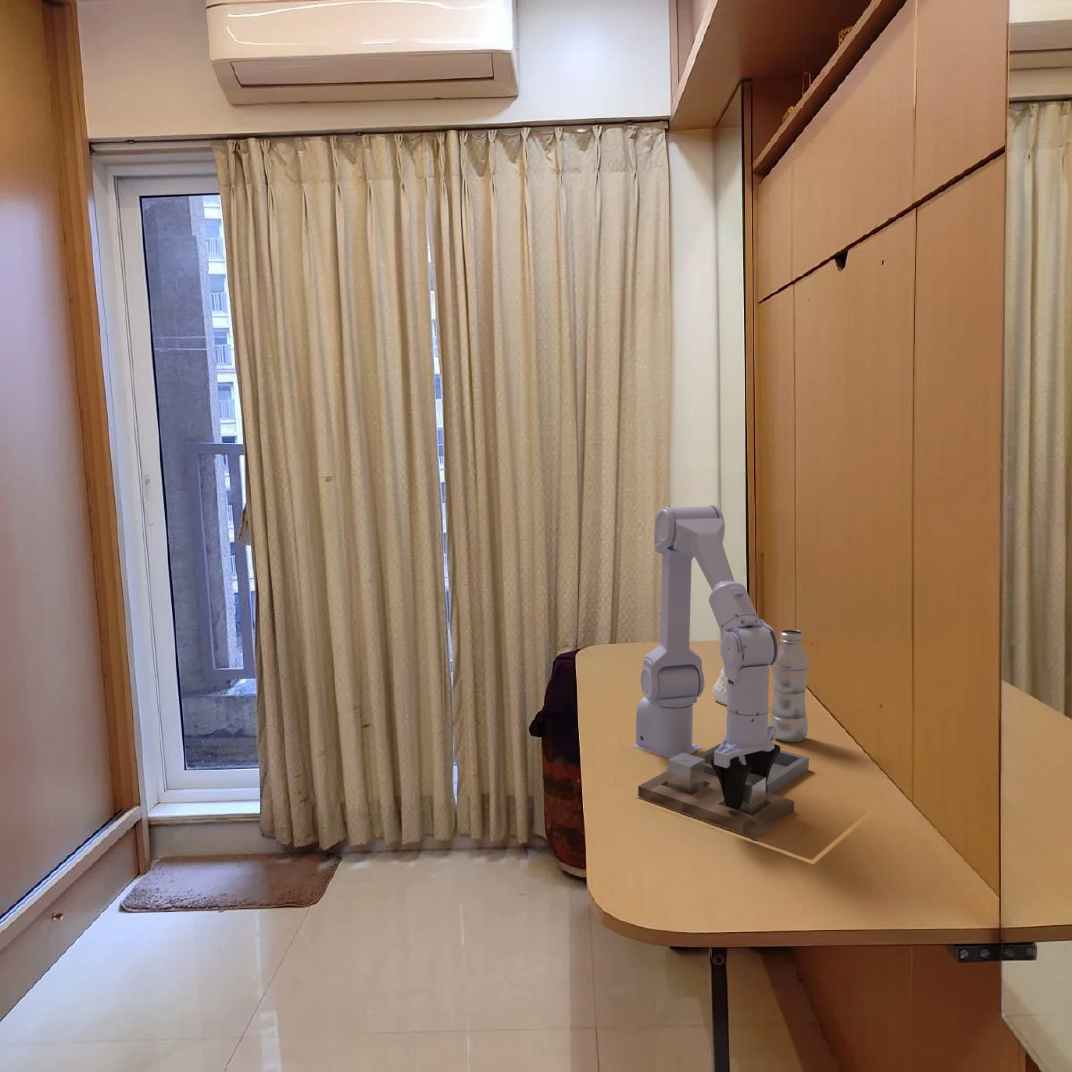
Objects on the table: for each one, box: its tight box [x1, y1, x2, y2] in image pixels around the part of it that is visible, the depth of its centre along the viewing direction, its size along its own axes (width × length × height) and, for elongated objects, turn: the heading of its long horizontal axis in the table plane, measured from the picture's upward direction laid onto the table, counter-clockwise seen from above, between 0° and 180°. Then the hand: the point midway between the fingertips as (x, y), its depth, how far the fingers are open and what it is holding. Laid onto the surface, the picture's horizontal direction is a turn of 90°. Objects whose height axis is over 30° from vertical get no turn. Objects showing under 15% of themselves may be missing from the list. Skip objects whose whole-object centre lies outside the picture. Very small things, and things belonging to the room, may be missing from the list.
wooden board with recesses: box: [637, 769, 795, 842], centre depth 127 cm, size 20×11×2 cm, turn 47°
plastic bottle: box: [768, 629, 810, 743], centre depth 152 cm, size 6×7×20 cm
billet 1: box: [667, 752, 705, 795], centre depth 130 cm, size 4×4×6 cm
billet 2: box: [726, 772, 766, 816], centre depth 123 cm, size 4×4×6 cm
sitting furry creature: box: [712, 651, 728, 706], centre depth 173 cm, size 10×9×12 cm
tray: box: [696, 742, 810, 795], centre depth 138 cm, size 14×14×2 cm
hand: (744, 799), depth 123 cm, fingers open, 6 cm apart
